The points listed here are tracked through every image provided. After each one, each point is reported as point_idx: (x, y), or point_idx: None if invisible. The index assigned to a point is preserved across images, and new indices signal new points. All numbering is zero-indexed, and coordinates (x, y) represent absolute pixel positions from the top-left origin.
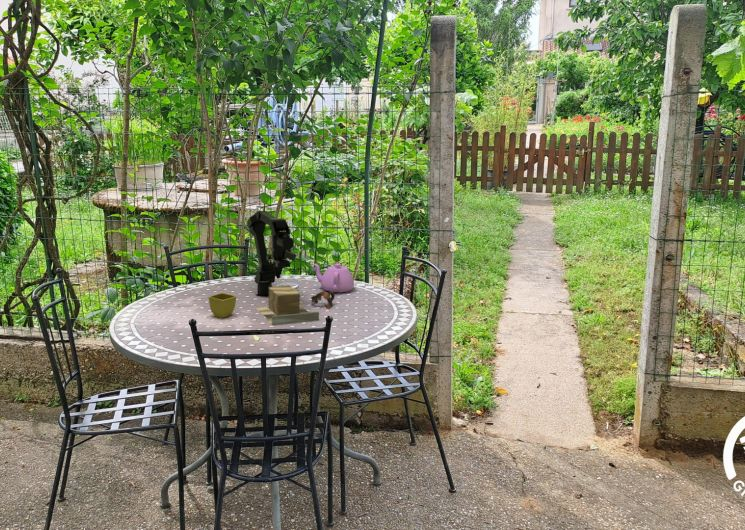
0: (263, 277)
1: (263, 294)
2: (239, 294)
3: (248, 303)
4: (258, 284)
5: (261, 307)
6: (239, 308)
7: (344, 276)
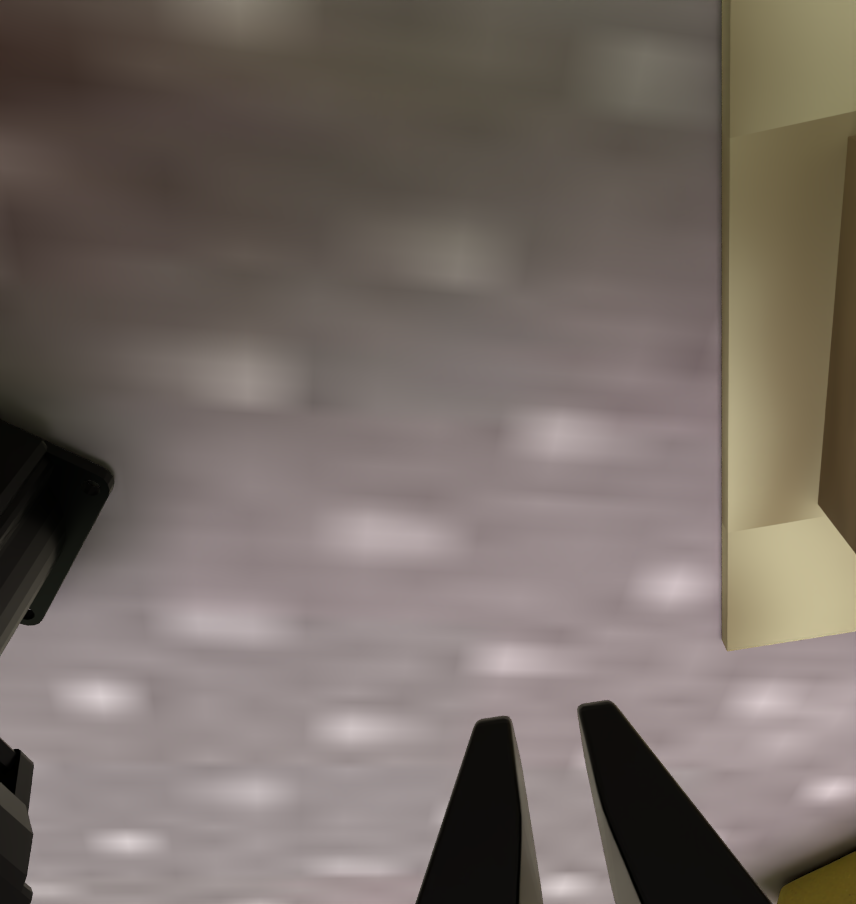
0: (18, 882)
1: (59, 542)
2: None
3: (452, 697)
4: (22, 763)
5: (747, 588)
6: None
7: None
